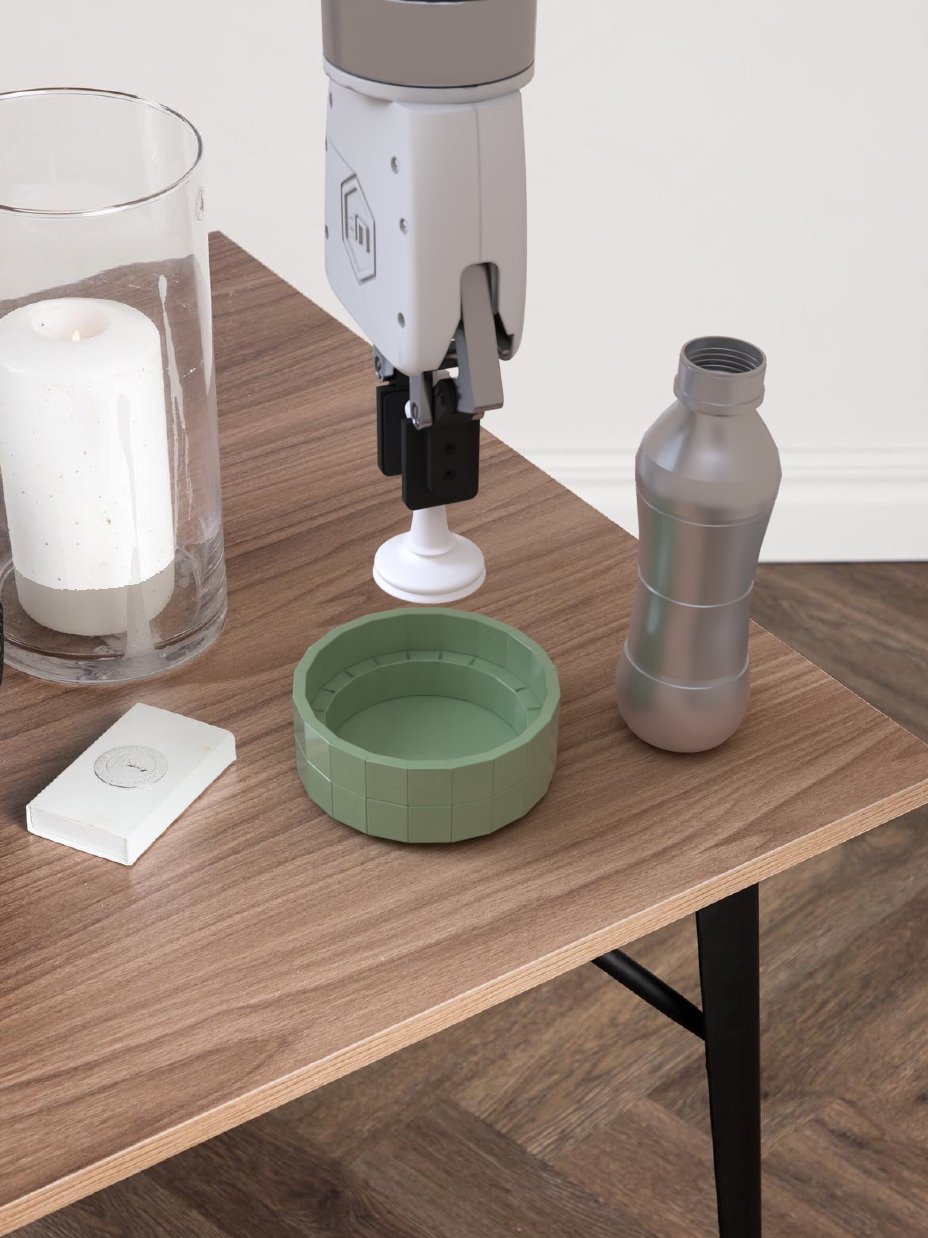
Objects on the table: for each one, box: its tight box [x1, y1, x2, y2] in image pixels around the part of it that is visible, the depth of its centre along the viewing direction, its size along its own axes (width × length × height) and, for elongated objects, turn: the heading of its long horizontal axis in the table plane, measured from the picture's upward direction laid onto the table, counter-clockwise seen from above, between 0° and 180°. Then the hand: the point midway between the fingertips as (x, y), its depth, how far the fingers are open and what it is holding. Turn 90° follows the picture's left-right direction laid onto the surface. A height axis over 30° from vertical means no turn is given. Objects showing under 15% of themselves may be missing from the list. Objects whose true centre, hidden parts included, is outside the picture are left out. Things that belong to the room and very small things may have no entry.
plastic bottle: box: [614, 335, 783, 754], centre depth 78 cm, size 6×7×20 cm
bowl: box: [292, 606, 562, 844], centre depth 80 cm, size 12×12×5 cm
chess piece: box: [372, 369, 487, 605], centre depth 71 cm, size 5×5×10 cm
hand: (427, 481), depth 72 cm, fingers closed on chess piece
